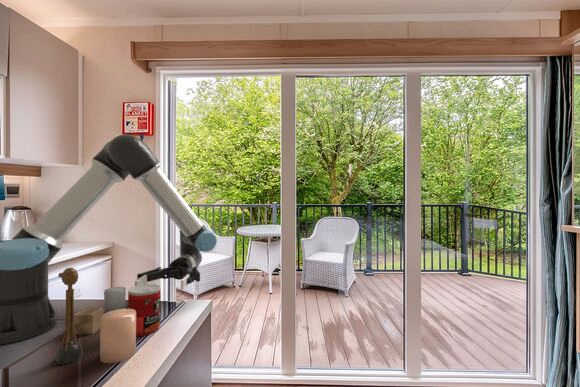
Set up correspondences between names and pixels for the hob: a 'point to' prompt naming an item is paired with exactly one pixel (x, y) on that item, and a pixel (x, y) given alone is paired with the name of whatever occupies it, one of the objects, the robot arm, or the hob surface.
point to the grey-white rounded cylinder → (114, 299)
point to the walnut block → (88, 320)
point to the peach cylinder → (117, 335)
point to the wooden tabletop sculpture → (69, 322)
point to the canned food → (145, 307)
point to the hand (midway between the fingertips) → (159, 285)
